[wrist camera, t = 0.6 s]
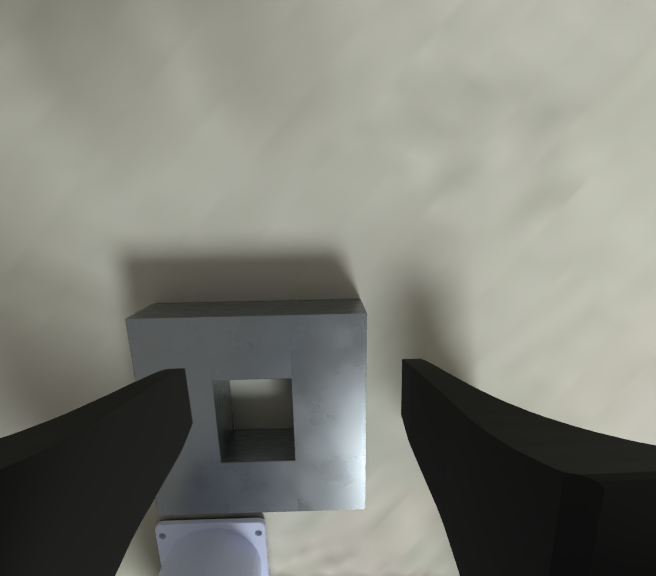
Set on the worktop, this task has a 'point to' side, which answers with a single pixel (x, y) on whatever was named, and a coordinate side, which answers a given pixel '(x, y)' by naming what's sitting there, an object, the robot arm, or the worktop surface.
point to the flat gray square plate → (262, 363)
